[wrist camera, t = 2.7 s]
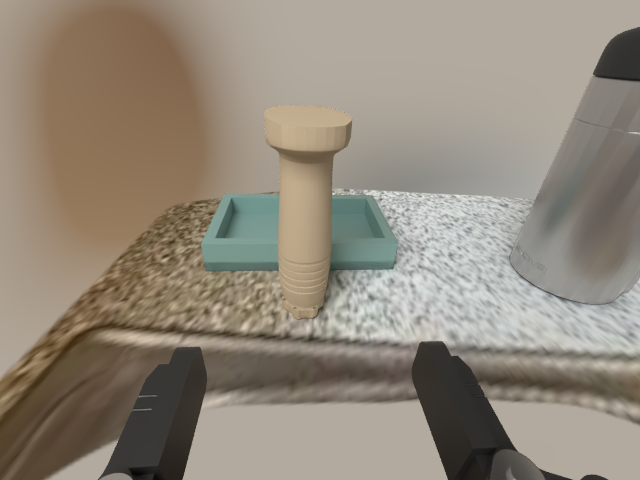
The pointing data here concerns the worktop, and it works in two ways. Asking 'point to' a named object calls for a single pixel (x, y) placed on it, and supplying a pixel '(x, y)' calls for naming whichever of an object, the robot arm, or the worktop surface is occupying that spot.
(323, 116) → the handle
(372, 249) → the tray
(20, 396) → the worktop surface
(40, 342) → the worktop surface
